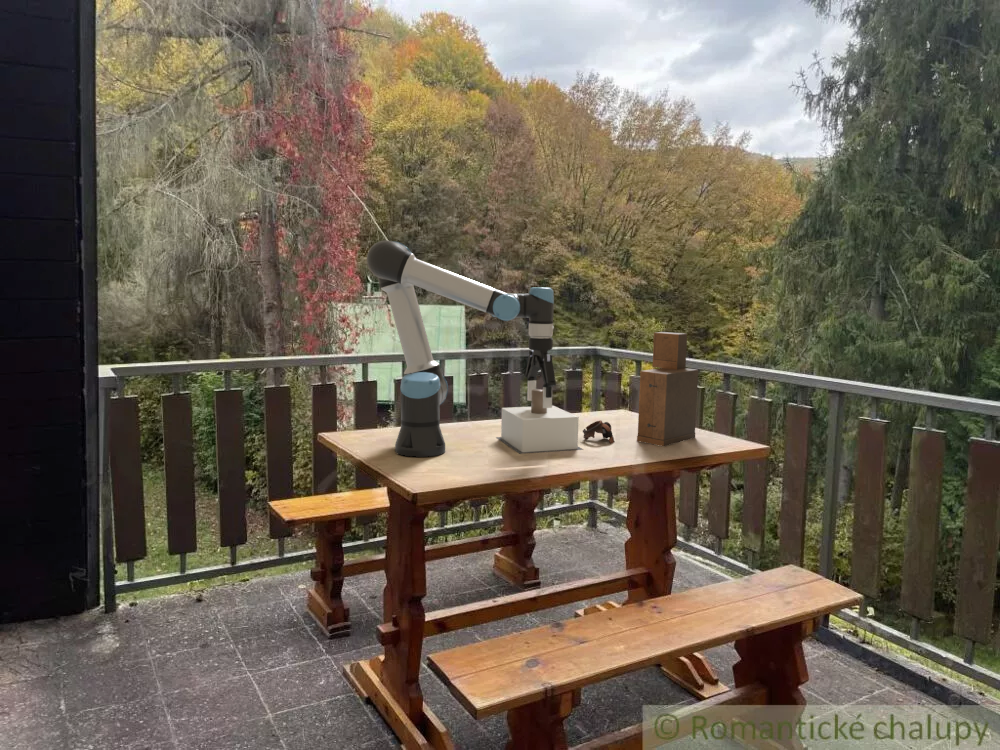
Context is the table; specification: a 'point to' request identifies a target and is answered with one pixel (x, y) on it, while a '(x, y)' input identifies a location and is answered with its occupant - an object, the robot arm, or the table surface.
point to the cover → (539, 426)
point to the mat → (532, 452)
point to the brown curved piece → (599, 430)
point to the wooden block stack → (668, 393)
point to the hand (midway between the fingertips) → (539, 404)
